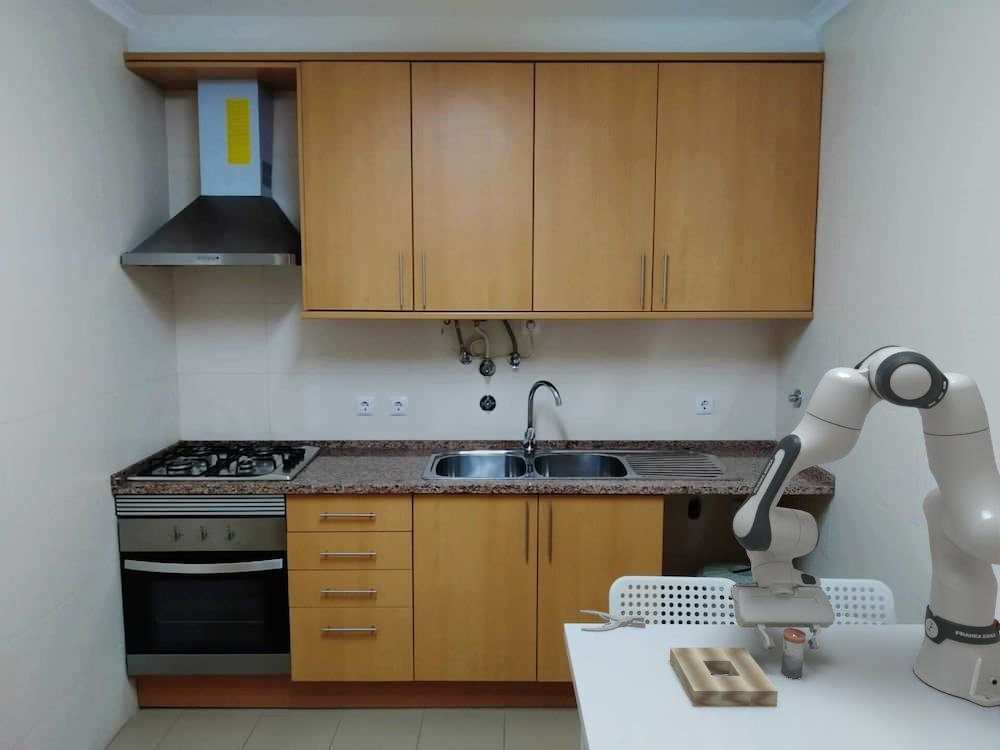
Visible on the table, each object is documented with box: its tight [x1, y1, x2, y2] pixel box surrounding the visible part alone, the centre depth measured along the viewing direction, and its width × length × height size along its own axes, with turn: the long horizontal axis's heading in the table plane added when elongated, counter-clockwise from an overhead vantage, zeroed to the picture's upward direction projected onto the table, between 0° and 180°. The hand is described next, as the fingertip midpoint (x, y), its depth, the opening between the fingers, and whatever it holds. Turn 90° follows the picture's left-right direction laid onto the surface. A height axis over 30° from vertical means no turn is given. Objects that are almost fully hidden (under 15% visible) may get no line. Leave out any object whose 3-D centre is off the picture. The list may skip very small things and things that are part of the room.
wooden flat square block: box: [669, 647, 779, 707], centre depth 139 cm, size 16×16×3 cm
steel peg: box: [780, 628, 806, 680], centre depth 142 cm, size 4×4×9 cm
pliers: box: [579, 609, 646, 633], centre depth 163 cm, size 10×2×15 cm
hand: (792, 648), depth 142 cm, fingers open, 8 cm apart
